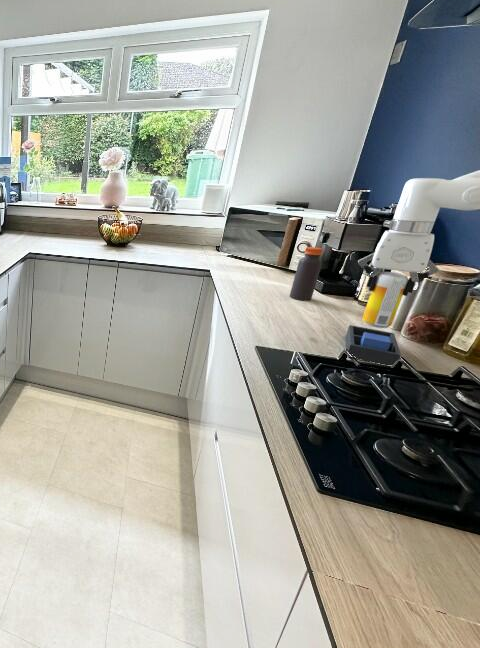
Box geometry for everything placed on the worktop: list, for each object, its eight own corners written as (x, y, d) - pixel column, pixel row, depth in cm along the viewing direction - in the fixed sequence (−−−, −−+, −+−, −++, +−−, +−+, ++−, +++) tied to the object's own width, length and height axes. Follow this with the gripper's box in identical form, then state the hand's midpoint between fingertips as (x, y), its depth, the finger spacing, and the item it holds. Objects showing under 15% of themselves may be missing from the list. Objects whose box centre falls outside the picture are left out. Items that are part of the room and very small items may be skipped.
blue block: (382, 353, 110) (389, 336, 108) (384, 359, 106) (390, 342, 104) (358, 348, 113) (363, 331, 111) (358, 354, 109) (364, 337, 108)
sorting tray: (389, 345, 116) (394, 333, 115) (395, 368, 103) (400, 354, 102) (345, 336, 122) (349, 324, 121) (346, 357, 109) (350, 344, 108)
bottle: (285, 296, 159) (298, 247, 152) (297, 294, 161) (311, 246, 154) (302, 301, 153) (317, 250, 146) (315, 300, 155) (330, 249, 148)
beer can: (382, 322, 116) (400, 272, 111) (395, 330, 110) (415, 278, 105) (356, 319, 117) (373, 270, 112) (368, 327, 112) (386, 276, 107)
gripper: (366, 225, 107) (345, 289, 113) (464, 232, 96) (435, 302, 102) (365, 222, 113) (345, 283, 119) (457, 228, 102) (430, 295, 108)
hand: (387, 291), depth 110 cm, fingers closed on beer can, 6 cm apart
